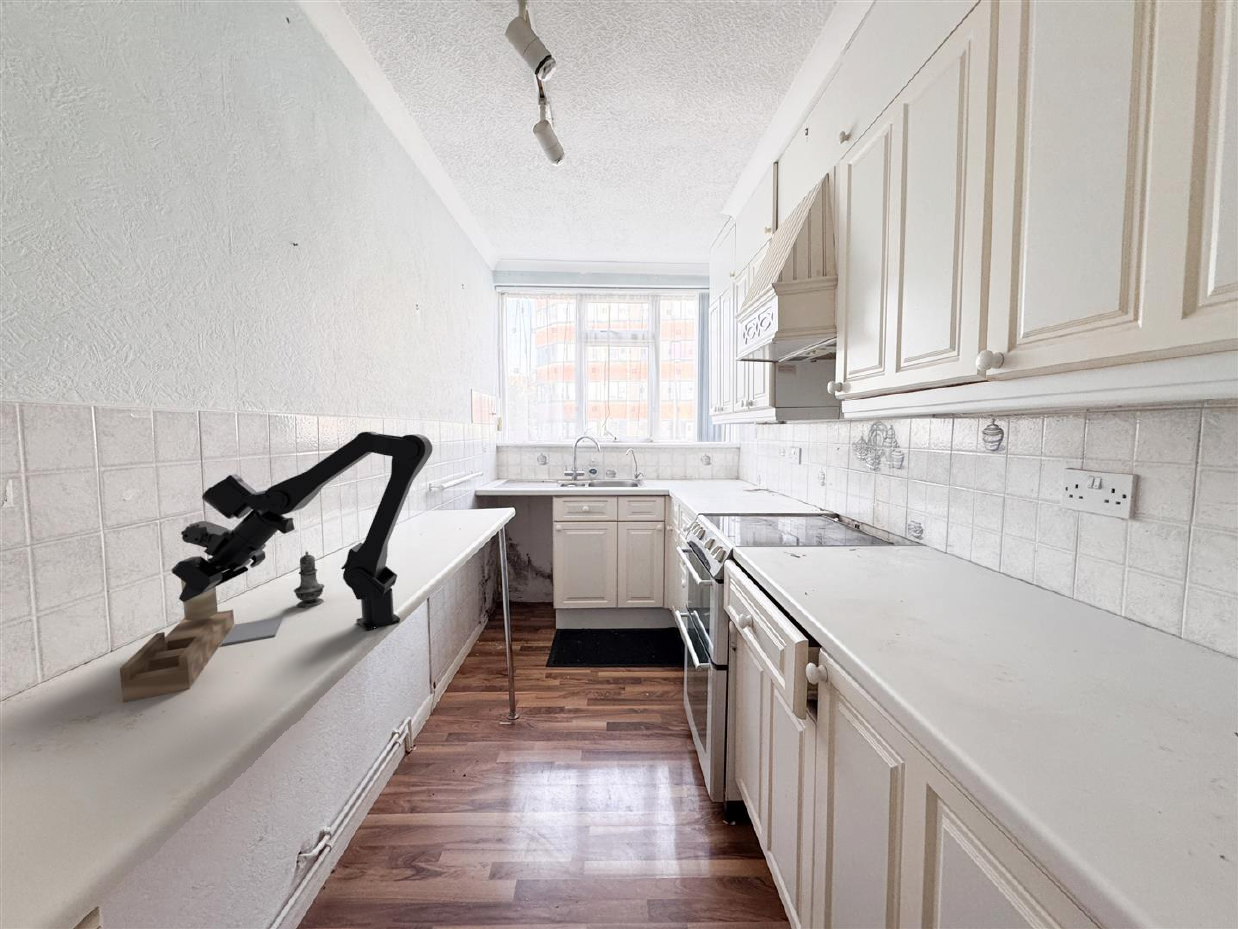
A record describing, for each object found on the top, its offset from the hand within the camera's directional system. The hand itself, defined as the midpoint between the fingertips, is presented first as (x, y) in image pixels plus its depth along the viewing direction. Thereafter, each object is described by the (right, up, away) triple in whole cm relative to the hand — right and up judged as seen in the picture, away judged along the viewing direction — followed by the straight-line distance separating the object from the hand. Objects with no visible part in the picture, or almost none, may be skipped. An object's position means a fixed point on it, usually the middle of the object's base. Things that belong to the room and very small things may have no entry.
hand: (191, 595), depth 92 cm
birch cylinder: (+1, -4, +1) cm, 4 cm away
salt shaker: (+11, -7, +17) cm, 22 cm away
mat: (+10, -8, +2) cm, 13 cm away
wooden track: (+6, -9, -8) cm, 13 cm away
